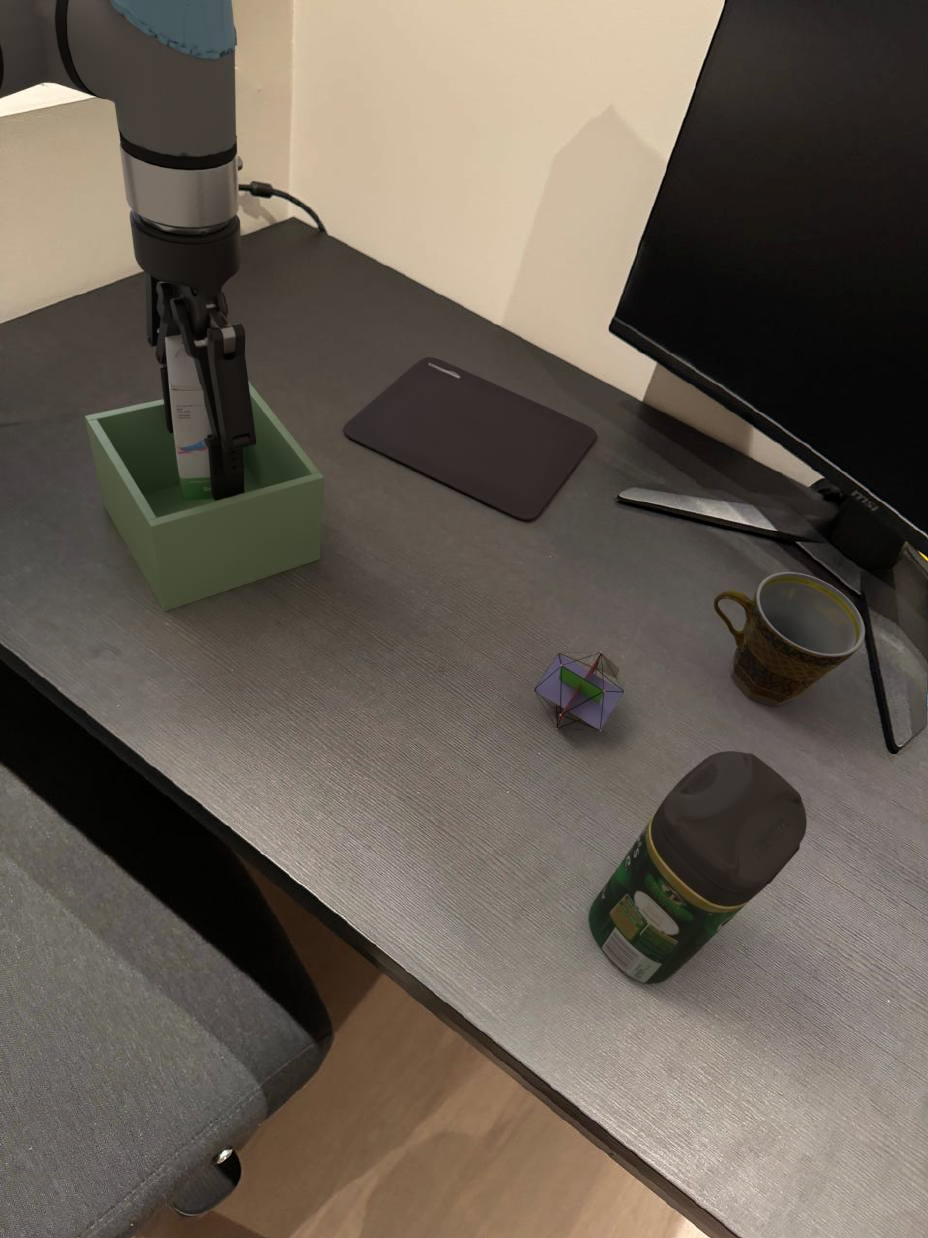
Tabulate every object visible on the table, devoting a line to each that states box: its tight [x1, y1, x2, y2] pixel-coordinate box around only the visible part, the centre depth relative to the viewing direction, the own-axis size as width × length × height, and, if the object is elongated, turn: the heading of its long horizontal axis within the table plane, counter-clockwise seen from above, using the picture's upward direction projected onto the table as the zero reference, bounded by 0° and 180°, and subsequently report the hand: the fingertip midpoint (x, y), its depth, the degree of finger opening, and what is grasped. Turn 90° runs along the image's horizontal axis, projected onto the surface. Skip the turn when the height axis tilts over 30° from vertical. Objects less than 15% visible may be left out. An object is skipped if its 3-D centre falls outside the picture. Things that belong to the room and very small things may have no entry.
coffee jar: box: [588, 750, 808, 985], centre depth 57 cm, size 10×8×19 cm
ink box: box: [165, 334, 237, 501], centre depth 73 cm, size 8×5×12 cm, turn 16°
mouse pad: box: [342, 356, 597, 521], centre depth 100 cm, size 25×21×1 cm
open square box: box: [84, 380, 325, 612], centre depth 79 cm, size 16×16×10 cm
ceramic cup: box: [713, 571, 866, 708], centre depth 79 cm, size 13×10×10 cm
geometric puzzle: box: [532, 651, 626, 732], centre depth 73 cm, size 7×7×8 cm
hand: (204, 459), depth 76 cm, fingers closed on ink box, 9 cm apart
